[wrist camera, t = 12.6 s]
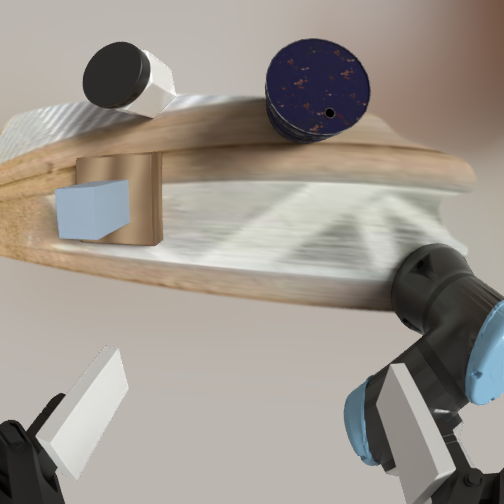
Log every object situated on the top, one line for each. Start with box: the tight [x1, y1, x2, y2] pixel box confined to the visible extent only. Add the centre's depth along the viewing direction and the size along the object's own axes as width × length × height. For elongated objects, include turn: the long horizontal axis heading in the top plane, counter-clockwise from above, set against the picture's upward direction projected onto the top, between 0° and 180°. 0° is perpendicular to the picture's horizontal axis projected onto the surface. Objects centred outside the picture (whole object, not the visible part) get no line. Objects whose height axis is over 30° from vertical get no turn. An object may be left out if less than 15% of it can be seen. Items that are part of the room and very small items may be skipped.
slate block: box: [55, 180, 130, 240], centre depth 34 cm, size 6×6×9 cm
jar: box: [83, 42, 176, 118], centre depth 32 cm, size 9×8×12 cm
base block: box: [76, 152, 163, 246], centre depth 41 cm, size 13×13×4 cm
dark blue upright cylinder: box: [265, 38, 371, 143], centre depth 30 cm, size 10×10×15 cm
